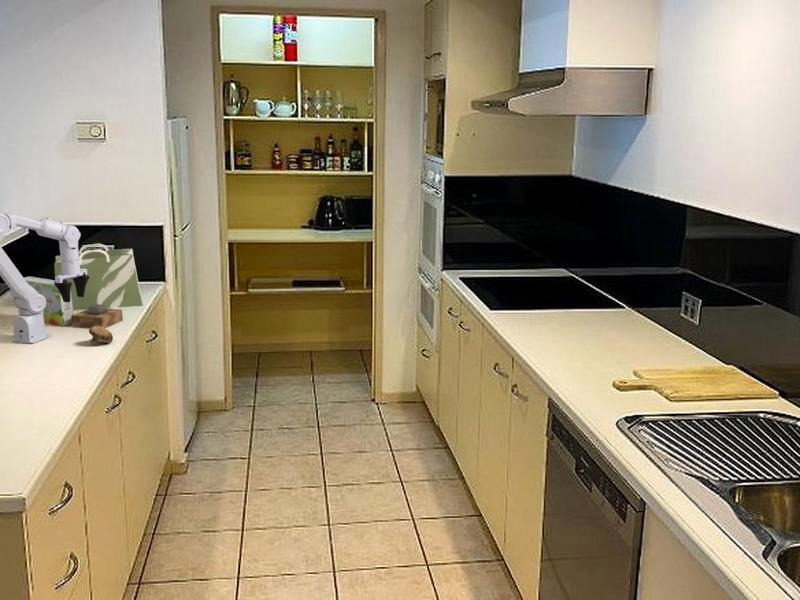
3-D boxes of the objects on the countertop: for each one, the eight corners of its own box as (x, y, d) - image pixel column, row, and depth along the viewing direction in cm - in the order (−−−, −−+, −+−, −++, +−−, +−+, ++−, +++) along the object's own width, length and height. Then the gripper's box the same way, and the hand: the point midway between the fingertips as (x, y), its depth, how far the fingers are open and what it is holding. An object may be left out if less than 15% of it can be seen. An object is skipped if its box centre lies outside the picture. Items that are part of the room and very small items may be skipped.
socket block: (102, 329, 283) (101, 318, 282) (72, 326, 286) (71, 315, 285) (122, 320, 294) (121, 309, 293) (93, 318, 297) (92, 307, 296)
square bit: (99, 325, 288) (98, 307, 286) (89, 324, 288) (88, 306, 287) (106, 322, 291) (105, 304, 290) (96, 322, 292) (95, 304, 291)
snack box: (21, 319, 295) (16, 278, 291) (34, 316, 300) (30, 275, 296) (62, 327, 285) (58, 284, 282) (75, 323, 290) (71, 281, 286)
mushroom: (81, 338, 260) (91, 321, 262) (84, 341, 268) (94, 324, 270) (105, 349, 262) (115, 332, 263) (107, 352, 269) (117, 335, 271)
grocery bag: (52, 312, 305) (46, 250, 300) (55, 303, 318) (50, 244, 313) (143, 306, 315) (138, 246, 309) (142, 298, 328) (138, 240, 322)
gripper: (66, 264, 270) (70, 305, 273) (93, 256, 283) (96, 295, 287) (48, 263, 272) (52, 303, 275) (75, 255, 285) (79, 294, 288)
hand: (73, 299), depth 281 cm, fingers open, 7 cm apart
